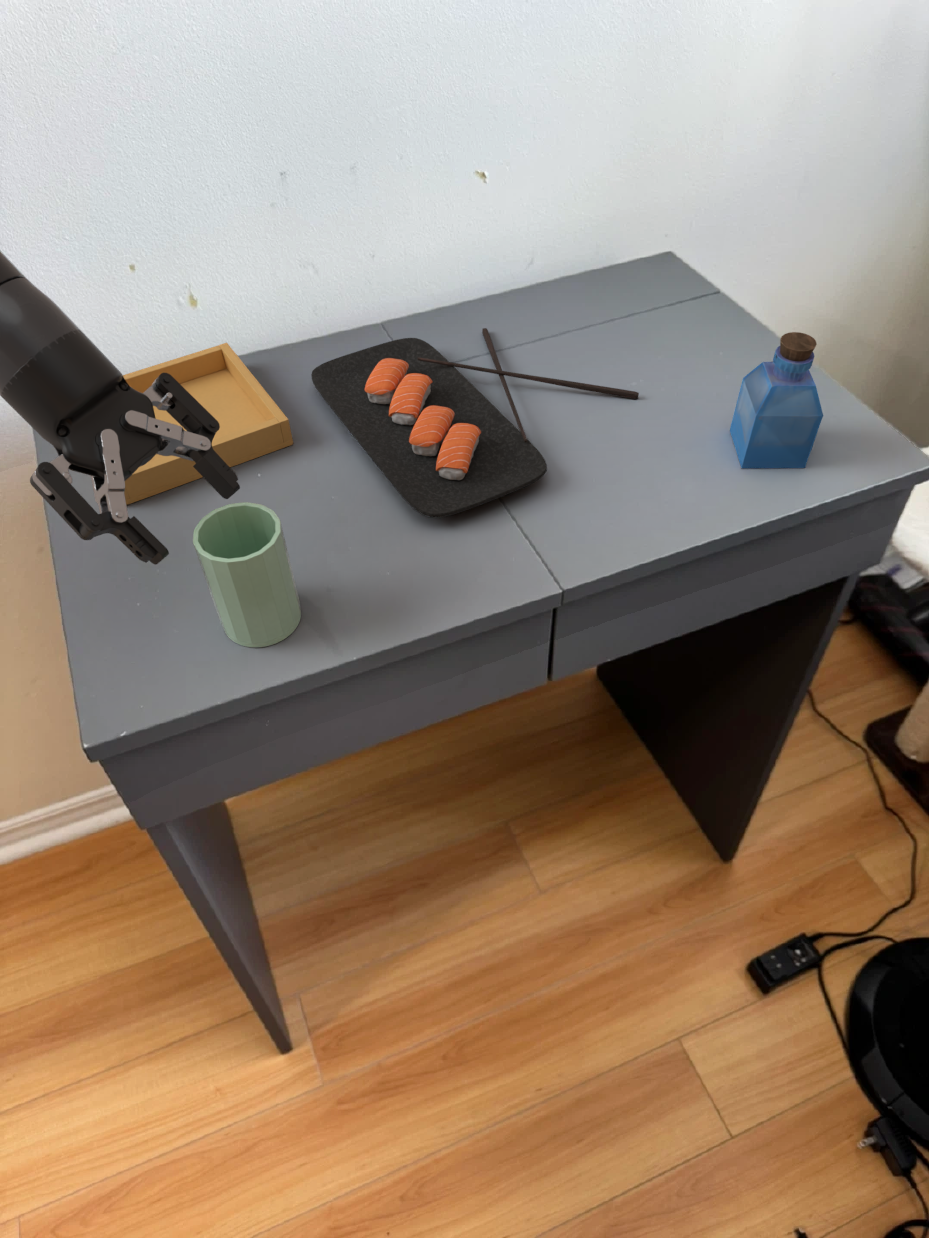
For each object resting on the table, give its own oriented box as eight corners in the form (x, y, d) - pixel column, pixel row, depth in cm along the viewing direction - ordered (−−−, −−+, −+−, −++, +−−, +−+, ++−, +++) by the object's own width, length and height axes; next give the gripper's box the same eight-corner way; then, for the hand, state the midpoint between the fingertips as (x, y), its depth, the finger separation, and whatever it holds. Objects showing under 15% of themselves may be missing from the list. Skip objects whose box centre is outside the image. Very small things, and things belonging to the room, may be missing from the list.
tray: (121, 507, 84) (110, 482, 81) (74, 418, 93) (64, 393, 91) (293, 444, 90) (288, 419, 87) (232, 366, 99) (226, 342, 97)
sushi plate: (303, 383, 97) (298, 353, 94) (532, 310, 106) (533, 280, 103) (426, 539, 80) (424, 507, 77) (684, 435, 89) (691, 403, 86)
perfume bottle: (805, 468, 86) (842, 360, 77) (741, 468, 86) (771, 360, 77) (790, 429, 90) (824, 323, 81) (729, 430, 90) (756, 323, 81)
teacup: (240, 659, 71) (211, 573, 63) (211, 608, 75) (180, 522, 67) (314, 626, 73) (294, 540, 66) (282, 579, 77) (260, 491, 69)
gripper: (-31, 389, 57) (154, 570, 62) (122, 290, 65) (275, 457, 70) (-49, 433, 63) (121, 595, 68) (94, 337, 71) (237, 488, 76)
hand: (199, 525), depth 69 cm, fingers open, 8 cm apart
